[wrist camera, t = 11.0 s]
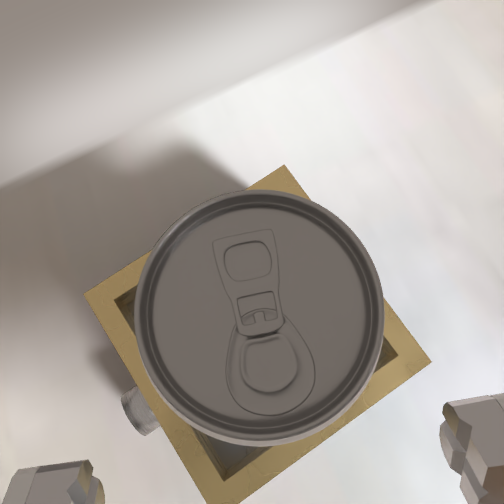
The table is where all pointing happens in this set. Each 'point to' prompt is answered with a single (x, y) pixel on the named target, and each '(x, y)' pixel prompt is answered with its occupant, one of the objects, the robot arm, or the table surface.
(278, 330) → the can
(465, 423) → the robot arm
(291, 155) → the table surface
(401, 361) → the drawer
